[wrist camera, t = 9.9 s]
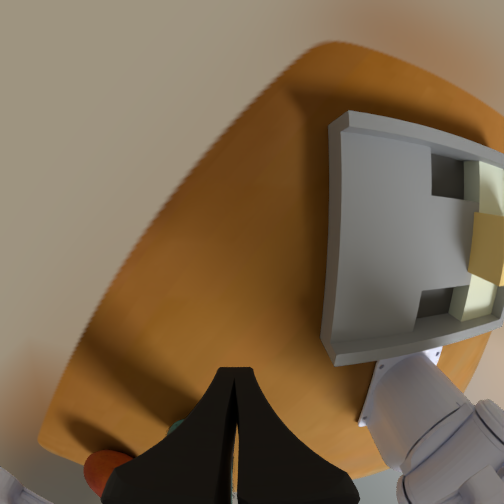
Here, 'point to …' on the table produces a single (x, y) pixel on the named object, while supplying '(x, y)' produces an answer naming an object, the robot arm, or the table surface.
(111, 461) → the fruit
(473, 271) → the block
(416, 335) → the box
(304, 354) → the table surface
